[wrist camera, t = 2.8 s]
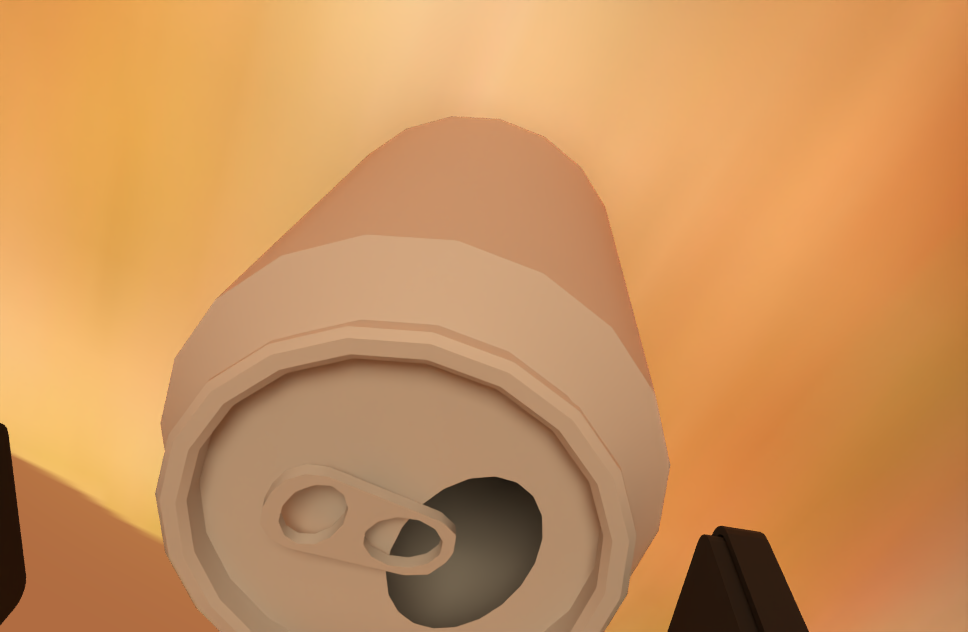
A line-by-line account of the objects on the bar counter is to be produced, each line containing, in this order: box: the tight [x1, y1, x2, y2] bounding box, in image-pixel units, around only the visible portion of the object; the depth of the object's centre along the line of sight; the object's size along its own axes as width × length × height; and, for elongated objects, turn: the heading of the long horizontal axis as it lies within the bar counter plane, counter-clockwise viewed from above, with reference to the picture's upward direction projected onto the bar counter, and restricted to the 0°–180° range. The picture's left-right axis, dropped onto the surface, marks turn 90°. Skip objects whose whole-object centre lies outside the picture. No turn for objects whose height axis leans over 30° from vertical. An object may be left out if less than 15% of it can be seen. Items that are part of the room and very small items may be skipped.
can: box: [155, 116, 670, 632], centre depth 15 cm, size 8×8×12 cm
